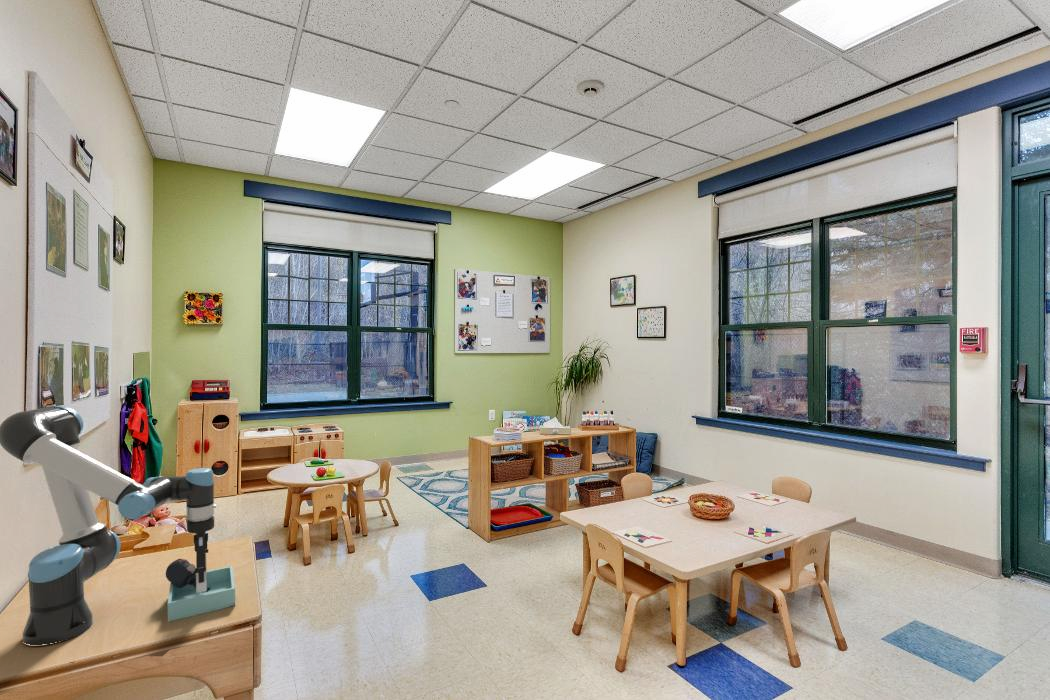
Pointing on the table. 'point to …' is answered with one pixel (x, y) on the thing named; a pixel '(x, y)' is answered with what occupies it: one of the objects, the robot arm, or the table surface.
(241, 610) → the table surface
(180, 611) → the bin
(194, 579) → the toy
